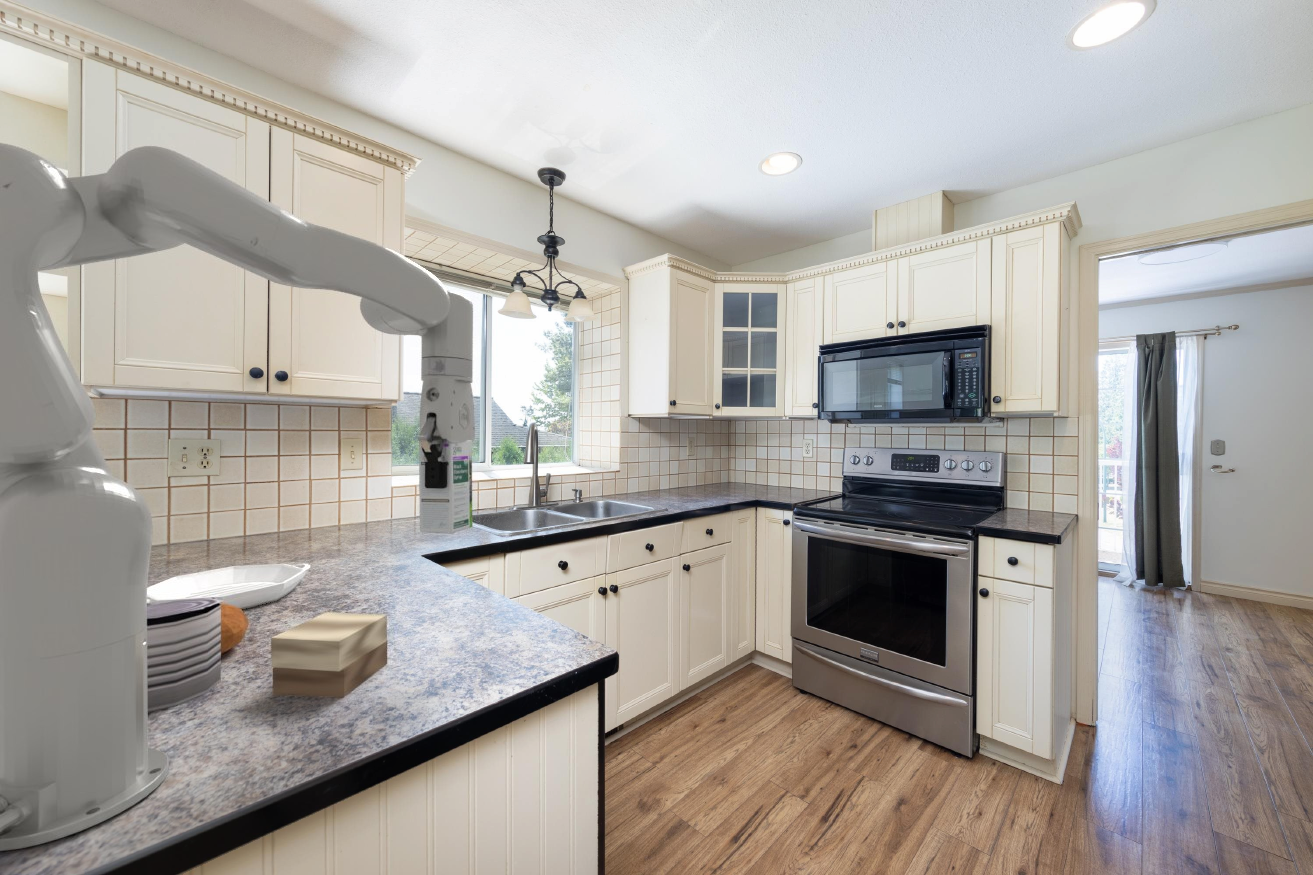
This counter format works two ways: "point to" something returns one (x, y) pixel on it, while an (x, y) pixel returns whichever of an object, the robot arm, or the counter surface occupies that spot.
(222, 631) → the potato
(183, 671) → the can
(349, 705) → the counter surface
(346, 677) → the tower base block
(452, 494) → the syrup box
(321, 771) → the counter surface
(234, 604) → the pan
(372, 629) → the tower top block
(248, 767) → the counter surface
